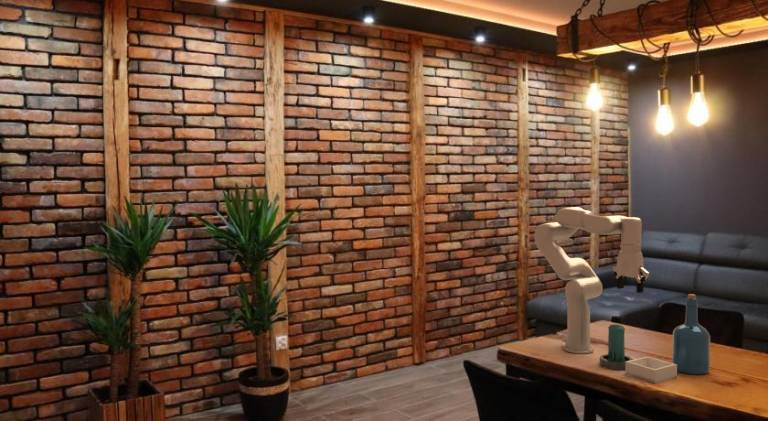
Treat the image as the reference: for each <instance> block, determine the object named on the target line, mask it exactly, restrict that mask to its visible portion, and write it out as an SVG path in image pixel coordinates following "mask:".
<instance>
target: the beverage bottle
mask: <svg viewBox="0 0 768 421" xmlns="http://www.w3.org/2000/svg"><path fill="white" fill-rule="evenodd" d="M610 321H611V323H612V324H610V325H609V326H607V327H608V329H607V330H608V334H607V343H608V345H607V347H608V348H607V354H608V360H609V361H615V362H624V357H625V356H626V355H625V354H626V353H625V352H626V351H625V349H626V348H625V334H626V333H625V330H626V329H625V327H624V326H623V325H622V323H623V317H622V316H619V315H612V316H611V319H610ZM624 355H625V356H624Z"/></svg>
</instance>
